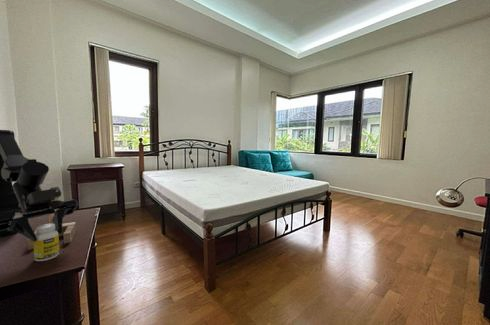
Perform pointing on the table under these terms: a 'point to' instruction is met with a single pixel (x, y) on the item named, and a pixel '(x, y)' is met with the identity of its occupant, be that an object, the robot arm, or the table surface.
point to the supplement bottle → (46, 242)
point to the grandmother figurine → (54, 204)
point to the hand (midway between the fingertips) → (48, 237)
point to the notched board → (67, 232)
